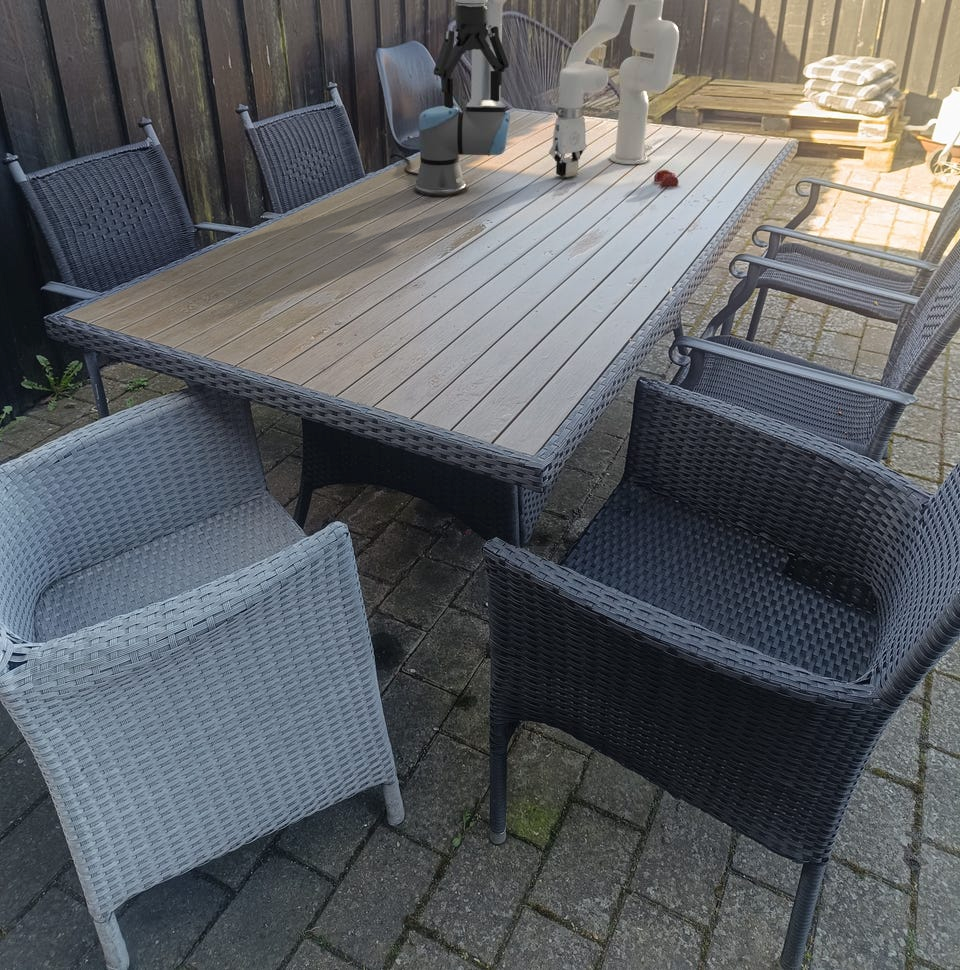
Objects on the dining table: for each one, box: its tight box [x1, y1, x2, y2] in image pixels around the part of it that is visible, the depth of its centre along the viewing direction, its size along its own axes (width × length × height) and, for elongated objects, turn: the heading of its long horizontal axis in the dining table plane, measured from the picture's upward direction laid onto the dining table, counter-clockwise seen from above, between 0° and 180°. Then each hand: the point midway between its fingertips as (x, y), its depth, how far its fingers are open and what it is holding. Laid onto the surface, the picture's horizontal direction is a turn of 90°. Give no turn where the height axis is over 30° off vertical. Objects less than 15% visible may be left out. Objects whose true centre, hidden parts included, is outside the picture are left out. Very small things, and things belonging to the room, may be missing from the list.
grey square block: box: [555, 156, 579, 178], centre depth 268 cm, size 5×5×4 cm
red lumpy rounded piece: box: [653, 169, 679, 188], centre depth 261 cm, size 6×4×8 cm
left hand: (472, 104), depth 206 cm, fingers open, 13 cm apart
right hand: (566, 172), depth 269 cm, fingers closed on grey square block, 4 cm apart
